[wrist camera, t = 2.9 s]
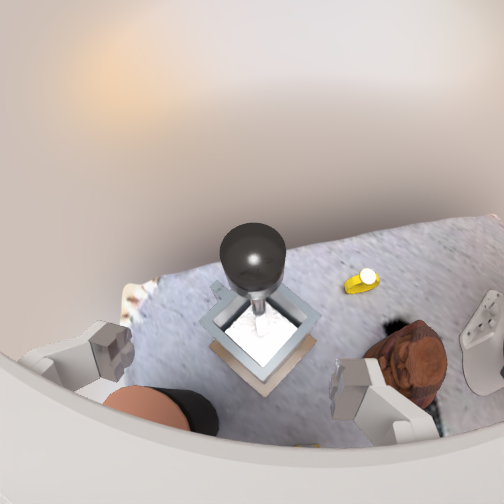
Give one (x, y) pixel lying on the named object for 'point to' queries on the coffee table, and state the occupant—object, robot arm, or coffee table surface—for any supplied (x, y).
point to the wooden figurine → (412, 362)
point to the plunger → (256, 288)
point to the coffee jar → (167, 407)
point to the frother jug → (241, 361)
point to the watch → (367, 280)
